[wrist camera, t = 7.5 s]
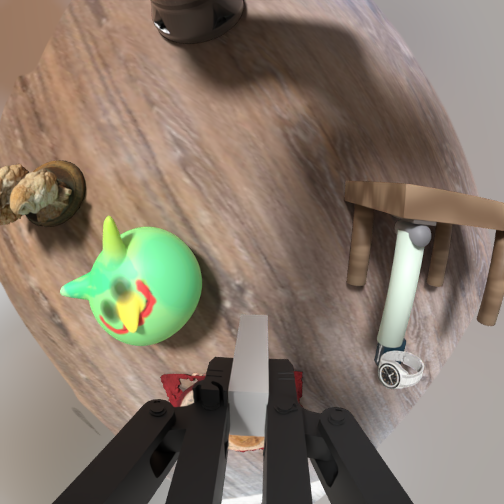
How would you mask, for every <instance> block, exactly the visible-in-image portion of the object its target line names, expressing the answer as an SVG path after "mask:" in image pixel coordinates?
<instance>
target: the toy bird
mask: <svg viewBox="0 0 504 504" xmlns="http://www.w3.org/2000/svg"><path fill="white" fill-rule="evenodd" d="M201 290H202V276H201V271H200V267H199V264H198V262H197V260H196V258H195V256H194V254H193V253H192V251H191V250H190V248H189V247H188V246H187V245H186V244H185V243H184V242H183V241H182V240H181V239H180V238H178V237H177V236H175V235H174V234H172V233H170V232H168V231H166V230H163V229H160V228H155V227H140V228H135V229H132V230H129V231H127V232H125V233H123V234H121V235H120V234H119V231H118V229H117V226H116V224H115V222H114V220H113V219H112V217H110V216H108V217H106V219H105V221H104V226H103V251H102V252H101V253H100V254H99V256H98V258H97V259H96V261H95V263H94V265H93V267H92V270H91V272H89V273H87V274H86V275H83V276H81V277H79V278H77V279H75V280H73V281H71V282H69V283H67V284H65V285H64V286H63V287H62V288H61V290H60V293H61V295H63V296H66V297H71V298H79V299H86V300H89V303H90V306H91V309H92V312H93V314H94V316H95V318H96V320H97V321H98V323H99V324H100V325H101V327H102V328H103V329H104V330H105V331H106V332H107V333H108V334H110V335H111V336H112V337H114V338H115V339H117V340H119V341H121V342H124V343H126V344H130V345H135V346H147V345H152V344H156V343H159V342H161V341H163V340H165V339H167V338H169V337H171V336H172V335H174V334H175V333H176V332H177V331H179V330H180V329H181V328H182V327H183V326H184V325H185V324H186V322H187V321H188V320H189V319H190V317H191V316H192V314H193V312H194V311H195V309H196V307H197V304H198V302H199V299H200V295H201Z"/></svg>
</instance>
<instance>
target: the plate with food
mask: <svg viewBox="0 0 504 504" xmlns="http://www.w3.org/2000/svg"><path fill="white" fill-rule="evenodd" d="M205 376H206V374H202V375H199V374H198V373H193V374H192V375H191V376H189V375H185V374H167V375H166V374H164V375H162V376H161V377H160V378H161V382H162V383H163V387H164V389H165V390H166V393H167V397H169V401H170V403H171V404H172V405H173V406H174V407H181V406H187V405H190V404H192V403H194V399H193V390H192V387H193V386H194V385H192V386H190V387H189V388H188V389H186V390H185V391H184V392H182V390H181V389H179V388H178V385H180V381H179V379H180V378H181V379H187V378H189V380H190V381H193V380H194V378H196V379H197V380H198V381H201V380H204V379H205ZM294 376H295V384H296V392H297V400H298V403H299V398H301V397H302V380H301V378H302V372H297V371H294ZM198 381H197V382H198ZM197 382H196V383H197ZM173 394H174V395H175V396H176V398H175V396H174V395H173ZM301 406H302V405H301ZM302 407H303V406H302ZM228 449H231V450H235V451H240V452H245V451H248V450H250V451H251V450H252V451H254V450H256V449H259V450H260V449H262V450H263V449H264V437H262V436H240V435H230V434H229V448H228Z"/></svg>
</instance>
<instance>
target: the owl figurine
mask: <svg viewBox="0 0 504 504" xmlns="http://www.w3.org/2000/svg"><path fill="white" fill-rule="evenodd" d="M84 194H85V182H84V177H83V175H82V172H81V171H80V169H79V168H78V167H77V166H76V165H75V164H73V163H71V162H67V161H51V162H48V163H45V164H43V165H41V166H40V167H38V168H37V169H35V170H34V171H33V172H31V173H29V171H28V170H26V169H25V168H24V167H22V165H21V164H17V165H12V166H5V167H3V168H1V169H0V225H3V224H4V225H6V224H10V222H14V221H16V220H17V219H18V218H19V219H21V216H22V215H26V217H27V218H28V219H29V220H30V221H31V222H33V223H34V224H36V225H38V226H45V227H51V226H55V225H59V224H62V223H63V222H65V221H67V220H68V219H70V218H71V217H72V216H73V215H74V214H75V212H76V211H77V210H78V209H79V208H80V204H81V201H82V200H83V198H84ZM41 224H42V225H41Z"/></svg>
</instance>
